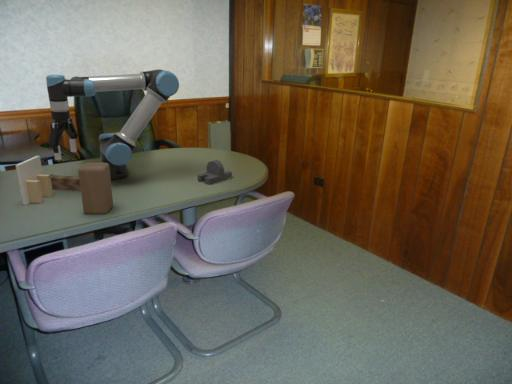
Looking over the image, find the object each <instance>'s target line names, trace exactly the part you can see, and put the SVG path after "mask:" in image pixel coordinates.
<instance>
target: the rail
mask: <svg viewBox="0 0 512 384" xmlns="http://www.w3.org/2000/svg"><path fill="white" fill-rule="evenodd" d="M49 175H50V177H51V183H52V190H53V191H68V190H72V192H81V188H80V181H79V176H74V175H73V176H72V175H59V174H57V175H54V174H53V173H50V174H49Z"/></svg>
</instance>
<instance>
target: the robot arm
mask: <svg viewBox="0 0 512 384" xmlns="http://www.w3.org/2000/svg"><path fill="white" fill-rule="evenodd" d="M45 81H46V88H47V94H48V101H49V109H50V110H51V111H50V115H51V119H52V120H54V123H53V122H51V123H50V135H49V142H48V145H49V147H50V146H51V147H52V148H53V155H54V160H56V161H57V160H58V161H62V152H61V146H60V145H59V143H60V141H61V136H62V134H63V133H64V132H65V133H66V134H67V136H68V137H69V138H68V141H69V148H70V153H78V148H77V142H76V141H77V140H76V139H78V136H79V134H78V132H77V130H76V128H75V125H74V122H73V119H72V118H71V115H70V106H69V100H68V98H69V97H70V98H71V97H73V98H74V97H86V98H88V97H94V96H96V93H97V92H113V91H129V90H130V91H131V90H132V91H133V90H142V91H144V92H145V91H146V93H145V95H144V96H143V98H142V99H141V101H140V102H139V103H138V105H137V107H136V108H135V109H134V111H133V112H132V113H131V115H130V117H129V118H128V120H127V121H126V123H124V125H123V127H122V128H121V129H120V130H119V131H118V132H107V133H101V134H99V136H98V141H99V149H100V150H99V152H100V159H101V160H100V161H101V163H108V164H109V168H110V178H111V180H120V179H124V178H126V177H128V176H129V175H130V171H129V167H128V166H127V164H128V163H129V162H130V161H131V158H132V156H133V155H132V154H133V151H134V150H135V148H136V146H137V145H136V141H137V140H138V138H139V137H140V135H141V134H142V132H143V131H144V129H146V127H147V125H148V124H149V123H150V121H151V120H152V118H153V117H154V115H155V114H156V112H157V111H158V109H159V108H160V106H161V105H162V104H164V103H167V102H168V100H169V99H170V97H173V96H174V95H175V94H177V93H178V91H179V88H180V83H179V82H180V81H179V78H178V77H177V75H175V73H173V72H171V71H169V70H165V69H153V70H147V71H140V72H139V73H134V74H133V73H131V74H129V73H127V74H111V75H93V76H72V77H71V78H70V79H66V77H65V75H63V74H48V75H46V76H45Z"/></svg>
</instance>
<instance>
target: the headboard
mask: <svg viewBox="0 0 512 384" xmlns="http://www.w3.org/2000/svg"><path fill="white" fill-rule="evenodd" d="M15 170H16V175H17V179H18V180H17V181H18V186H19V191H20V196H21V202H22V205H25V206H27V205H29V204H43V202H44V197H50V198H51V197H53V196H54V190H52V183H51V177H50V175H51V174H44V172H43V166H42V161H41V155H35V156H33V157H31V158H29V159H26V160H24V161H22V162H19V163H17V164H15Z"/></svg>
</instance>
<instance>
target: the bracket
mask: <svg viewBox="0 0 512 384" xmlns="http://www.w3.org/2000/svg"><path fill="white" fill-rule="evenodd" d="M224 167H225V166H224V164H223V163H222V161H220V160H218V159H214V160H210V161H208V162H207V164H206V172H202V173H198V174H197V182H199V183H202V181H203V182H204V185H205V184H206V185H208V186H209V185H210V186H211V185H214V183H215V184H218V183H220V182H219V181H221V182H223V181H222V180H224V181H226V180H225V179H227V180H229V179H228V178H230V177H232V178H233V171H231V170H227V171H225V168H224ZM230 179H231V178H230ZM217 182H218V183H217Z"/></svg>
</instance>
